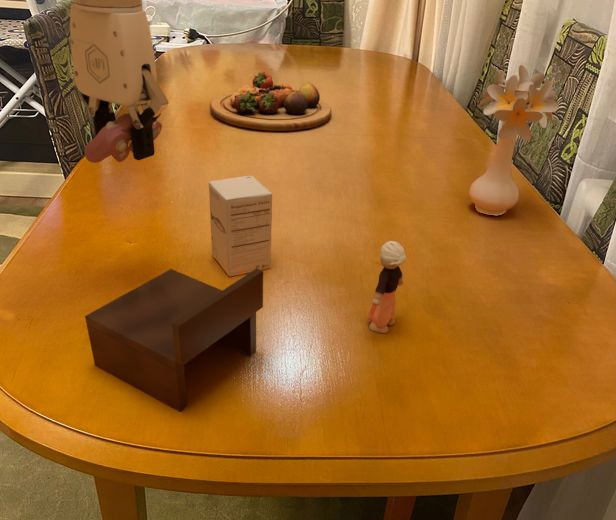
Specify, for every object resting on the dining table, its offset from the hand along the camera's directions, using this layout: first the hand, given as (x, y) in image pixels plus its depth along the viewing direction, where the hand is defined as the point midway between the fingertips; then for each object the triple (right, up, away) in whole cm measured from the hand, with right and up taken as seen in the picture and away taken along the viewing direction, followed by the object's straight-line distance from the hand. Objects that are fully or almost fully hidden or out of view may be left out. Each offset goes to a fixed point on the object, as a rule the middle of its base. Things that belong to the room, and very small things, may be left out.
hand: (125, 150), depth 80 cm
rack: (+8, -27, -4) cm, 29 cm away
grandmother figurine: (+34, -23, +4) cm, 41 cm away
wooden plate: (+14, +36, +81) cm, 90 cm away
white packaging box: (+13, -13, +16) cm, 25 cm away
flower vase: (+60, 0, +37) cm, 70 cm away
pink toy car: (0, -1, +1) cm, 1 cm away
